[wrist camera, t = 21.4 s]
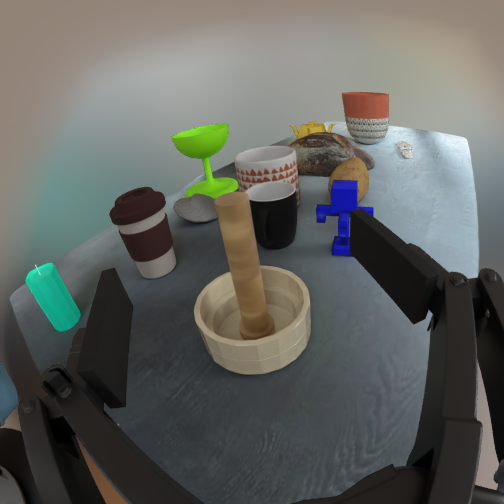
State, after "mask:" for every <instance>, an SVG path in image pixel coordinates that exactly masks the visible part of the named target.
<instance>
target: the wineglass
mask: <svg viewBox="0 0 504 504" xmlns="http://www.w3.org/2000/svg"><path fill="white" fill-rule="evenodd" d="M228 133H229V129H228V124H215V125H208V126H202V127H198V128H193V129H190V130H186V131H183V132H180V133H178V134H176V135H173V136H172V140H173V143H174V144H175V146H176V148H177V149H178V150H179V151H180V152H181V153H183V154H184V155H186V156H188V157H191V158H198V159H201V158H202V160H203V165H204V170H205V175H206V180H205V181H202V182H199V183H197V184H195V185H193V186H191V187H190V188H189V189H188V190H187V192H186V195H185V196H186V198H187V197H191V196H192V195H193V194H203V195H207V196H210V197H212V198H214V199H216V198H217V197H219V196H221V195H223V194H226V193H230V192H234V191H235V190H236V189H237V188H238V187H239V185H238V182H237V181H236V180H235V179H232V178H213V176H212V171H211V166H210V161H209V157H210V156H212V155H214V154H215V153H217V152H218V151H219V150H220V149H221V148H222V147H223V146H224V144H225V142H226V141H227V137H228Z"/></svg>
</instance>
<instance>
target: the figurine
mask: <svg viewBox="0 0 504 504" xmlns="http://www.w3.org/2000/svg"><path fill="white" fill-rule="evenodd" d="M357 205H358V180H333V183H332V186H331V205H318V204H317V207H316V214H317V223H325V220H326V216H339V219H338V236H335V237H334V241H333V246H332V255H340V256H353V255H352V254H351V253H350V252H349V249H350V237H349V217H351V210H356V209H360V208H363V209H364V210H365V211H366V212H368V213H369V214H370V215H372V216H373V207H358V206H357ZM340 236H341V237H340ZM353 257H354V256H353Z"/></svg>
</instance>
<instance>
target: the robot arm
mask: <svg viewBox="0 0 504 504" xmlns="http://www.w3.org/2000/svg"><path fill="white" fill-rule="evenodd" d="M349 252H350V253H351V254H352V255H353V256H354V257H355V258H356V259H357V260H358V262H359V263H360V264H361V265H362V266H363V267H364V268H365V269H366V270H367V271H368V273H369V274H370V275H371V276H372V277H373V278H374V279H375V280H376V281H377V283H378V284H379V285H380V286H381V287H382V288H383V289H384V290H385V292H386V293H387V294H388V295H389V296H390V297H391V299H392V300H393V301H394V302H395V303H396V304H397V306H398V307H399V308H400V309H401V310H402V311H403V313H404V314H405V315H406V316H407V317H408V319H409V320H410V321H411V322H412V323H413V325H414V324H416V323H418V322H420V321H422V320H424V319H425V318H426V316H427V313H428V310H430V312H431V313H432V314H433V315H432V318H431V321H430V323H429V326H428V329H427V331H429V330H430V328H431V332H430V348H429V359H428V369H427V378H426V386H425V393H424V399H423V405H422V411H421V417H420V422H419V427H418V432H417V437H416V441H415V445H414V447H413V449H412V451H411V453H410V455H409V458H408V461H407V464H406V466H400V467H394V466H393V464H391V465H389V466H387V467H385V468H383V469H381V470H379V471H377V472H375V473H372V474H370V475H368V476H366V477H364V478H363V479H362V480H360V481H359V482H358V483H356V484H355V485H353V486H352V487H351V488H349V489H348V490H346V491H345V492H343V493H342V494H340V495H338V496H334V497H327V498H319V499H309V500H302V501H299V502H296V503H292V504H504V283H503V281H502V279H501V277H500V276H499V275H498V273H497V272H495V271H494V270H491V269H487V268H485V269H482V270H480V272H479V275H478V278H471V279H467V277H466V276H464V275H463V274H461V273H458V272H450V273H449V272H447V271H446V270H445V269H444V268H443V267H442V266H441V265H440V264H438V263H437V262H436V261H435V260H434V259H433V258H431V257H430V256H429V255H428V254H426V252H424V251H423V250H422V249H421V248H420V247H418V246H416V245H414V244H411V243H409V244H406V243H405V242H404V241H403V240H402V239H400V238H399V237H398V236H397V235H395V234H394V233H393V232H392V231H391V230H389V229H388V228H387V227H386V226H384V225H383V224H382V223H381V222H379V221H378V220H377V219H375V218H374V217H373V216H372V215H370V214H369V213H368V212H366V211H365V210H364V209H363V208H360V209H356V210H351V221H350V249H349ZM488 311H489V313H488ZM132 312H133V305H132V303H131V301H130V299H129V297H128V295H127V293H126V291H125V289H124V287H123V285H122V282H121V280H120V278H119V276H118V274H117V272H116V269H115V268H112V269H108V270H104V271H102V273H101V277H100V280H99V283H98V286H97V290H96V293H95V297H94V300H93V304H92V307H91V311H90V315H89V318H88V322H87V326H86V328H81V329H79V330H78V331H77V333H76V334H75V336H74V338H73V342H72V345H71V346H72V348H71V349H70V355H69V358H68V362H67V366H66V369H65V368H64V367H63V366H62V365H53V366H51V367H49V368H48V369H47V370H46V371H45V372H44V373H43V375H42V377H41V382H40V383H41V387H42V388H43V389H44V390H45V391H46V392H47V393H48V394H49V395H48V396H46V397H44V398H42V399H40V398H39V397H37V396H36V395H35V394H31V393H30V394H27V395H26V396H24V397H23V398H22V399H21V401H20V403H19V406H18V414H19V420H20V426H21V430H22V436H23V441H24V445H25V449H26V453H27V457H28V461H29V465H30V469H31V472H32V476H33V479H34V482H35V485H36V488H37V491H38V494H39V497H40V500H41V503H42V504H106V503H105V501H104V499H103V497H102V495H101V493H100V491H99V489H98V487H97V485H96V483H95V481H94V479H93V477H92V475H91V472H90V470H89V468H88V466H87V464H86V461H85V459H84V456H83V454H82V452H81V449H80V446H79V444H78V441H77V439H76V436H75V435H77V437H78V438H79V440H80V441H81V442H82V444H83V445H84V447H85V448H86V449H87V451H88V452H89V453H90V455H91V456H92V457H93V458H94V460H95V461H96V462H97V464H98V465H99V466H100V467H101V468H102V470H103V471H104V472H105V473H106V475H107V476H108V477H109V478H110V479H111V480H112V482H113V483H114V484H115V485H116V486H117V487H118V488H119V489H120V490H121V492H122V493H123V494H124V495H125V496H126V497H127V498H128V499H129V500H130V501H131V502H132V503H133V504H204V503H203V502H202V501H200V500H199V499H198V498H196V497H195V496H194V495H192V494H191V493H190V492H189V491H187V490H186V489H185V488H184V487H182V486H181V485H180V484H179V483H177V482H176V481H175V480H174V479H173V478H171V477H170V476H169V475H168V474H167V473H166V472H165V471H163V470H162V469H161V468H160V467H159V466H158V465H157V464H156V463H155V462H154V461H152V460H151V459H150V458H149V457H148V456H147V455H146V454H145V453H144V452H143V451H142V450H141V449H140V448H139V447H138V446H137V445H136V444H135V443H134V442H133V441H132V440H131V439H130V438H129V437H128V436H127V435H126V434H125V433H124V432H123V431H122V429H121V428H120V427H119V426H118V425H117V424H116V423H115V422H114V421H113V420H112V418H111V417H110V416H109V415H108V414H107V413H106V412H105V411H104V402H105V403H106V404H107V406H108V407H109V408H110V409H111V408H121V407H126V387H127V368H128V354H129V342H130V331H131V321H132ZM477 359H478V363H479V367H480V370H481V374H482V378H483V383H484V387H485V392H486V396H487V401H488V406H489V412H490V417H491V423H492V430H493V438H494V444H495V450H496V454H497V458H498V461H499V467H498V470H497V471H496V472H495V474H494V481H495V482H496V483H498V488H497V490H493V489H488V488H485V487H481V486H477V485H475V482H476V476H477V471H478V465H479V458H480V451H481V441H482V432H483V429H482V428H483V427H482V423H481V422H480V421H477V418H476V413H477V388H478V383H477V382H478V369H477ZM17 402H18V394H17V391H16V388H15V386H14V384H13V382H12V381H11V379H10V377H9V375H8V374H7V372H6V371H5V369H4V367H3V365H2V364H1V362H0V427H1V426H3V425H4V423H5V420H6V418H7V417H8V416H9V415H10V413H11V412H12V411H13V410H14V409H15V407H16V406H17ZM0 504H30V501H29V498H28V496H27V493H26V491H25V489H24V488H23V486H22V484H21V483H20V481H19V480H18V479H17V478H16V477H15V475H13V474H12V473H11V472H10V471H8V470H6V469H5V468H3V467H2V466H0Z"/></svg>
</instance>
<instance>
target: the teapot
mask: <svg viewBox="0 0 504 504" xmlns="http://www.w3.org/2000/svg"><path fill="white" fill-rule="evenodd" d="M333 125H335V124H330V125H329V128H328V131H327V132H330V133H331V129H332V127H333ZM289 126H291V127H292V128H293V130H294V133H295V136H296V137H297V138H298V139H300V138H302V137H304V136H307V135H308V134H311V133H316V132H326V129H325V126H324V124H316V121H314V122H309V124H303V125H301V126H300V128H299V132H298V131H297V129H296V127H295V126H294V125H289Z"/></svg>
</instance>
